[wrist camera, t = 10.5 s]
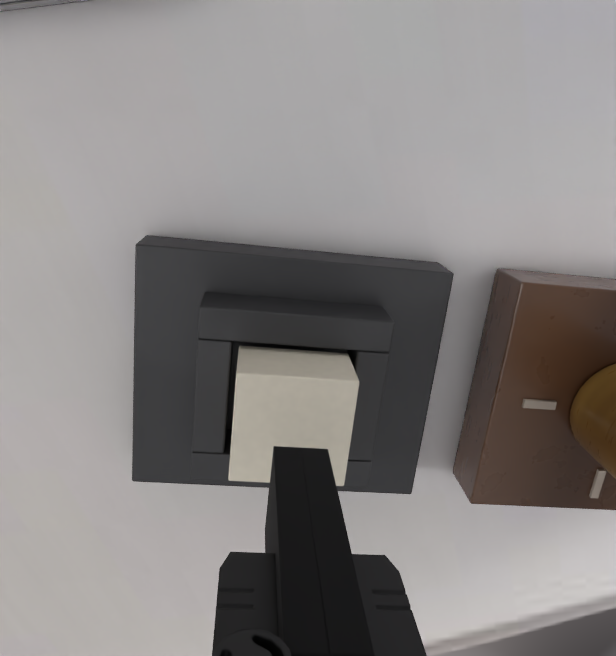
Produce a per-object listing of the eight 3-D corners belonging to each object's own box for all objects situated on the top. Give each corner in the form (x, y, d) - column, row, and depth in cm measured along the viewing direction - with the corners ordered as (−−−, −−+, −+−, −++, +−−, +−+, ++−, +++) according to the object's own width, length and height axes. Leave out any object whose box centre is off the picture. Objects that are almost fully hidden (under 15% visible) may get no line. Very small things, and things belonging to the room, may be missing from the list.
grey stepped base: (439, 262, 24) (473, 286, 20) (401, 469, 27) (424, 524, 23) (145, 234, 22) (122, 254, 19) (141, 456, 25) (120, 512, 22)
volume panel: (731, 289, 25) (784, 306, 23) (663, 483, 28) (703, 516, 26) (496, 267, 24) (523, 282, 21) (452, 472, 27) (471, 506, 25)
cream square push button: (348, 352, 21) (360, 381, 18) (334, 448, 22) (344, 487, 20) (238, 344, 20) (236, 372, 18) (231, 442, 22) (227, 481, 19)
